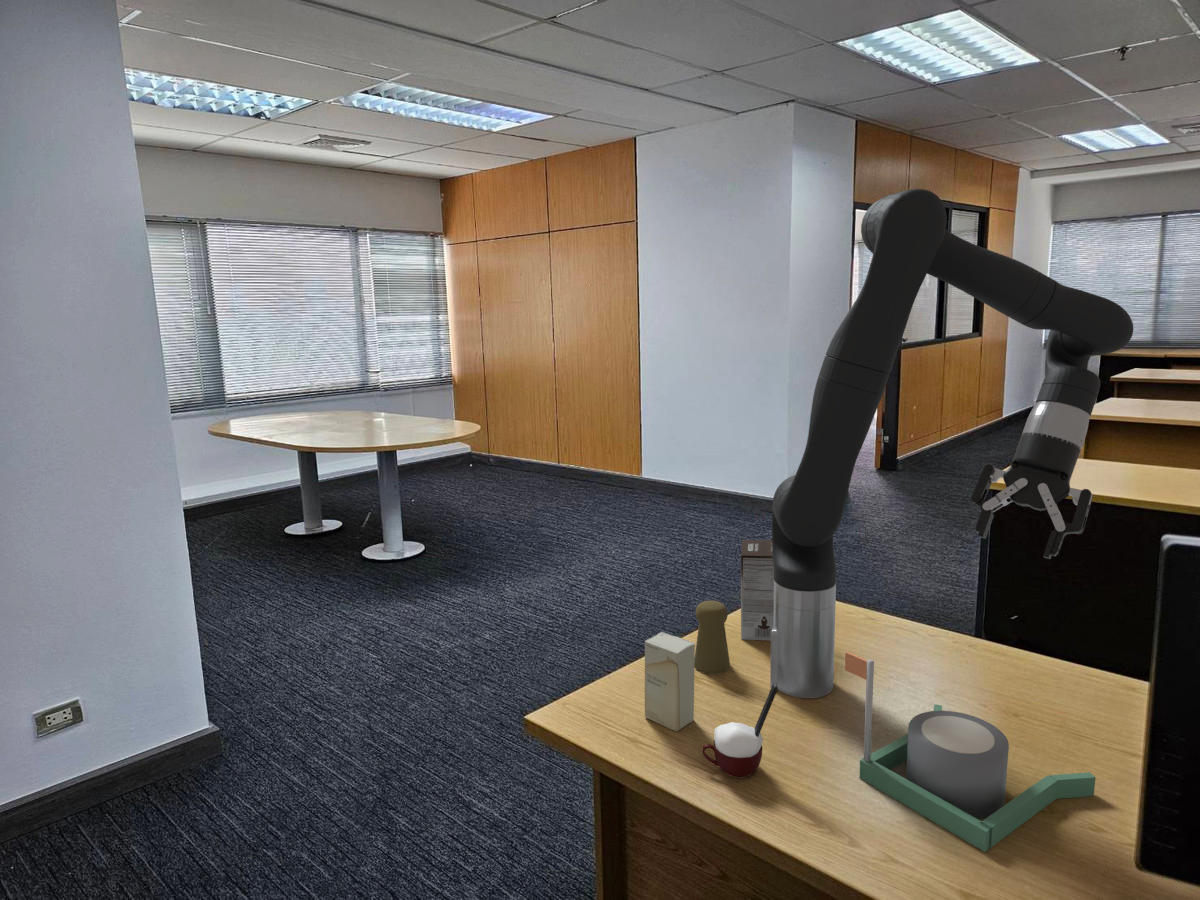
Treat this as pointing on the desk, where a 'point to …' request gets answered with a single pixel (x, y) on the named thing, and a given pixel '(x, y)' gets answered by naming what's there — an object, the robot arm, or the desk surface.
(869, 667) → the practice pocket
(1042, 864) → the desk surface
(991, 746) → the grey cylinder
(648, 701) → the skincare box
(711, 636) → the cork
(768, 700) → the cocoa
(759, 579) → the coffee box
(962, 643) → the desk surface
